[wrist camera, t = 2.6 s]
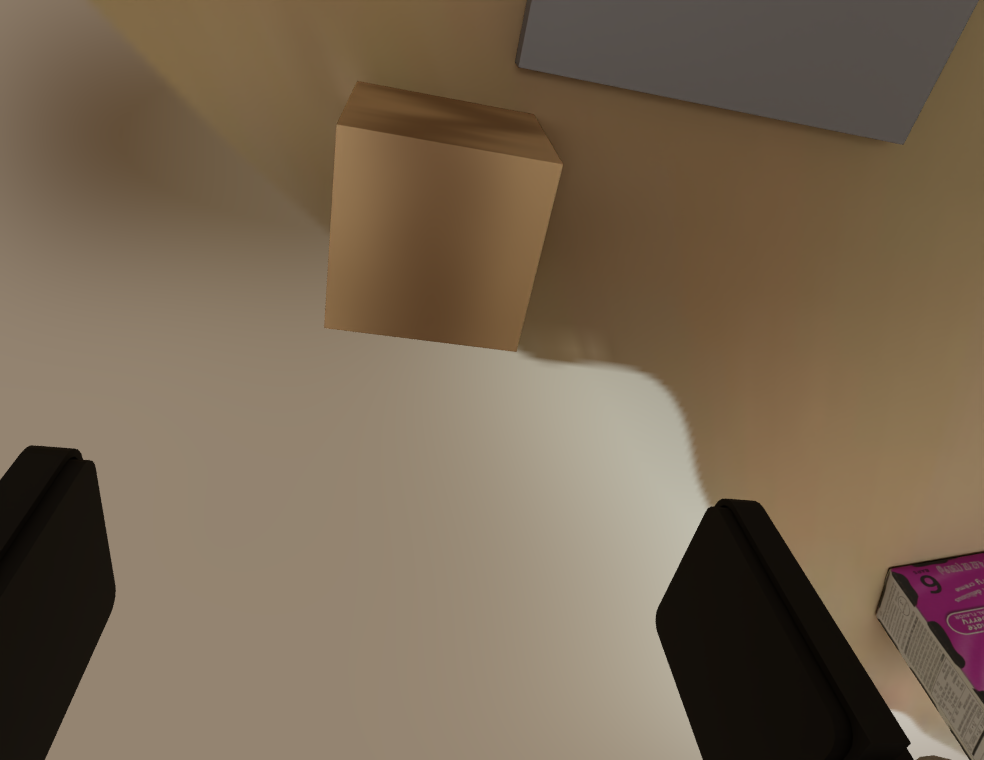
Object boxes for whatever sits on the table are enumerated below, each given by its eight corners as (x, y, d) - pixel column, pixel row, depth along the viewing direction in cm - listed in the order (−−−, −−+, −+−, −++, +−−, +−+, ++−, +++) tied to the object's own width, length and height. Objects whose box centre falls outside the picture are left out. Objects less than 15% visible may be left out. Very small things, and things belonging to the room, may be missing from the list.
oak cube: (533, 114, 23) (563, 164, 18) (499, 271, 26) (516, 351, 21) (357, 80, 22) (336, 124, 17) (344, 249, 25) (324, 327, 20)
